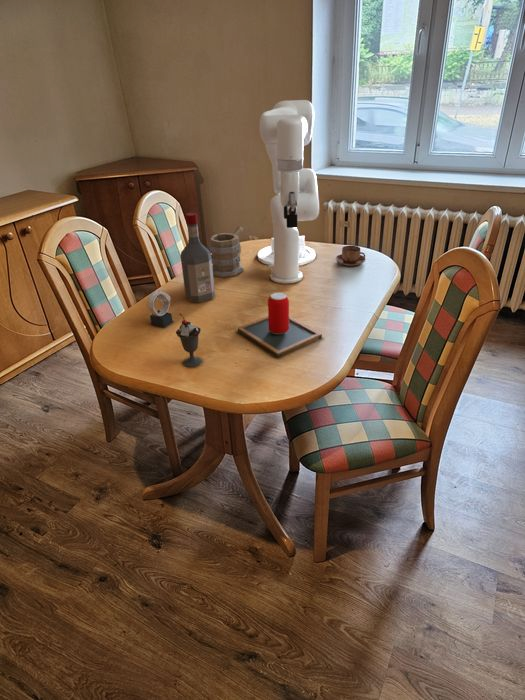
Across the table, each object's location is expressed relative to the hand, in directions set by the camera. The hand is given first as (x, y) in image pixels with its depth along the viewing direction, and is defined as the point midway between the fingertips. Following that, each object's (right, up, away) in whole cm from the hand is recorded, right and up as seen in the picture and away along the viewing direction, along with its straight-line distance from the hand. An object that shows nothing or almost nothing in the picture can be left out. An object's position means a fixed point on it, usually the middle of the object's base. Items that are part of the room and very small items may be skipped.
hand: (290, 222), depth 144 cm
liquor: (-31, -21, +22) cm, 44 cm away
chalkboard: (-4, -35, -3) cm, 36 cm away
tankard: (-22, -6, +45) cm, 51 cm away
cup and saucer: (+28, -4, +46) cm, 54 cm away
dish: (+2, 0, +55) cm, 55 cm away
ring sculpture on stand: (-42, -31, +6) cm, 52 cm away
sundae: (-29, -44, -14) cm, 54 cm away
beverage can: (-4, -34, -4) cm, 35 cm away
